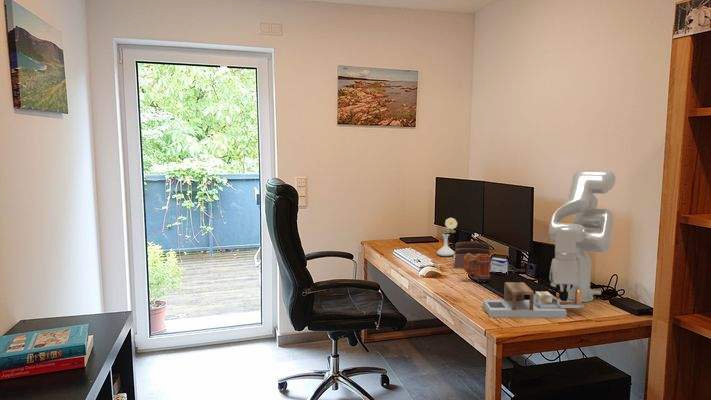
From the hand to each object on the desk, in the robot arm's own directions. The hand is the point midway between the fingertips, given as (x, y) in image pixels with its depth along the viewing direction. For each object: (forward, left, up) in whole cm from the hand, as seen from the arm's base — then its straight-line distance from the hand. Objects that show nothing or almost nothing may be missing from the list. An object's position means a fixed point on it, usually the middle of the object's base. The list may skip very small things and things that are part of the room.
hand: (563, 300), depth 184 cm
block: (+8, 0, -2) cm, 8 cm away
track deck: (+16, 0, -5) cm, 17 cm away
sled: (+2, 0, -2) cm, 3 cm away
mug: (+26, -44, -6) cm, 52 cm away
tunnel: (+18, 0, -2) cm, 18 cm away
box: (+11, -59, -6) cm, 60 cm away
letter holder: (+22, -76, -6) cm, 79 cm away
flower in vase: (+33, -104, -6) cm, 109 cm away
